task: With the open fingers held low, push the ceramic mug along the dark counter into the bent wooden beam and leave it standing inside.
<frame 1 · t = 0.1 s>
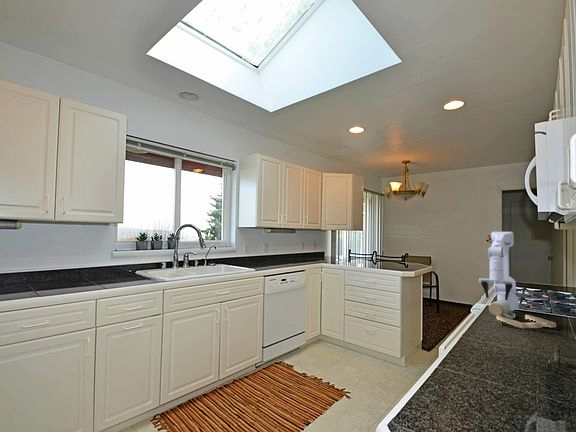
hand: (496, 298, 145), 11 cm above the counter, tool pointing down, fingers open, 7 cm apart
ceramic mug: (502, 316, 154), on the counter
bent wooden beam: (525, 323, 141), on the counter
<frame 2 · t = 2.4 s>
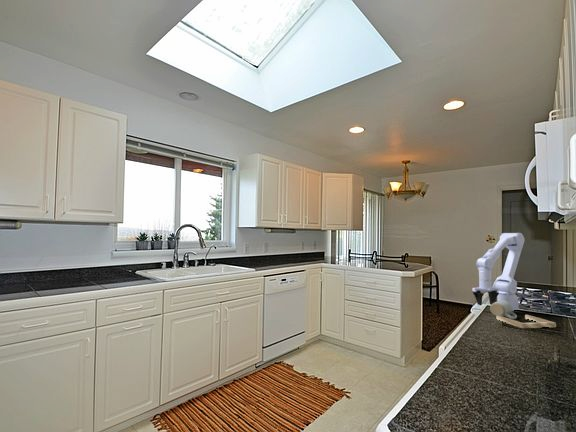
hand: (485, 304, 164), 3 cm above the counter, tool pointing down, fingers open, 7 cm apart
nothing on the counter moved.
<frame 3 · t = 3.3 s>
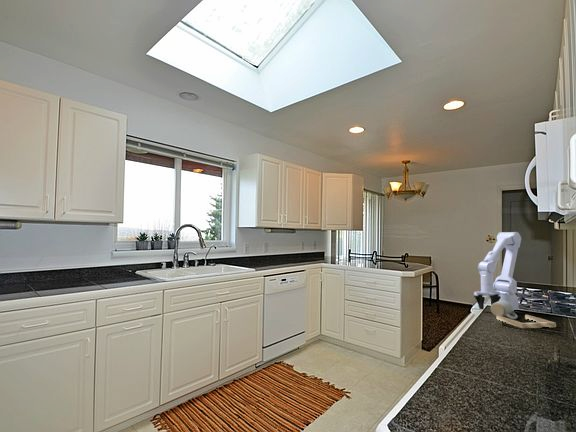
hand: (487, 308, 163), 1 cm above the counter, tool pointing down, fingers open, 7 cm apart
nothing on the counter moved.
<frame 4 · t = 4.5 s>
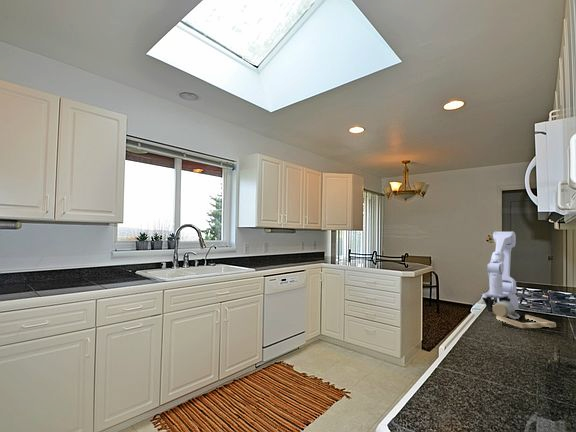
hand: (496, 311, 157), 1 cm above the counter, tool pointing down, fingers open, 7 cm apart
ceramic mug: (506, 317, 152), on the counter, touching gripper
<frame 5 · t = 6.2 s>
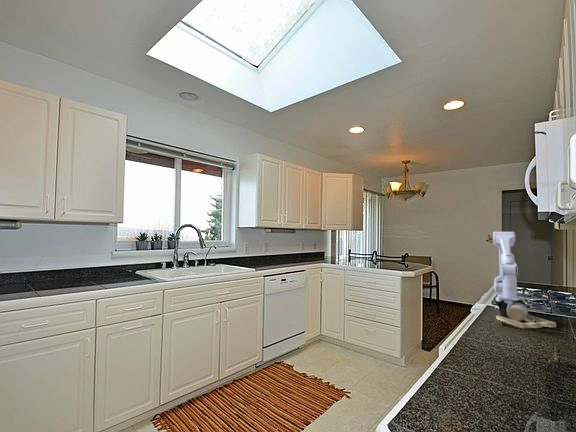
hand: (510, 315, 149), 1 cm above the counter, tool pointing down
ceramic mug: (520, 320, 145), on the counter, touching gripper
when the fingers open (1 cm above the counter, at t = 7.2 s): ceramic mug stays where it is, on the counter.
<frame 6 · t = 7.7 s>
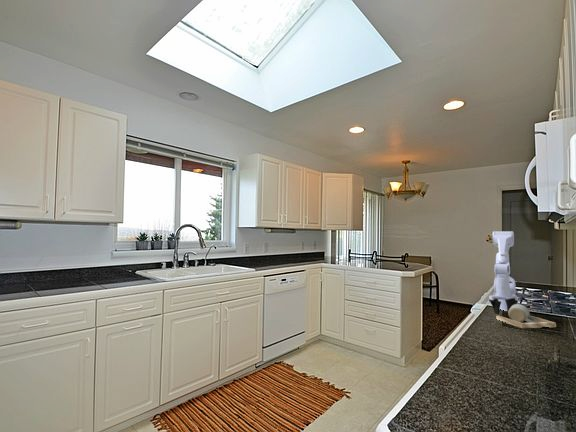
hand: (503, 313, 153), 1 cm above the counter, tool pointing down, fingers open, 7 cm apart
ceramic mug: (522, 322, 144), on the counter
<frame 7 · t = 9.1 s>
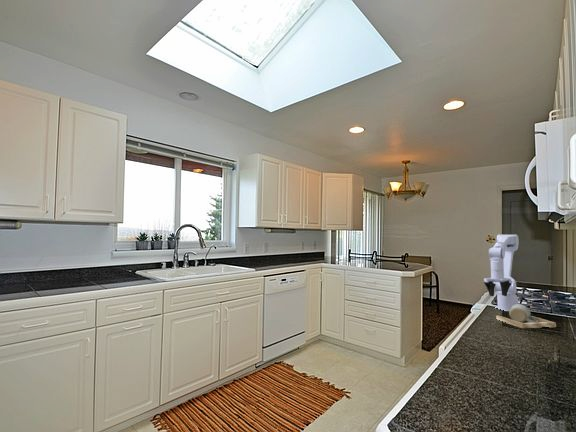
hand: (498, 295, 159), 9 cm above the counter, tool pointing down, fingers open, 7 cm apart
nothing on the counter moved.
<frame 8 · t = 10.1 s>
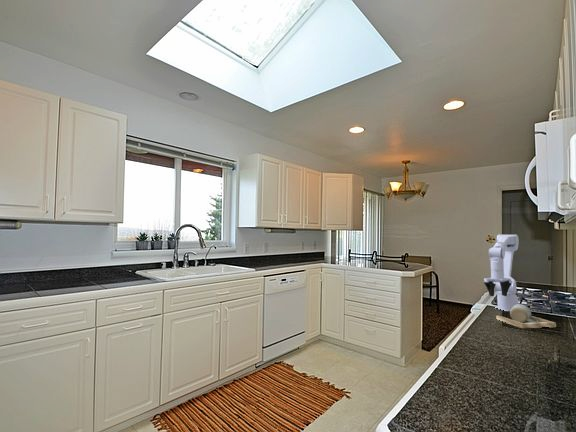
hand: (498, 295, 159), 9 cm above the counter, tool pointing down, fingers open, 7 cm apart
nothing on the counter moved.
at the end: ceramic mug inside the target area (3.0 cm from its centre), on the counter; ceramic mug tilted 0°; the gripper is holding nothing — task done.
